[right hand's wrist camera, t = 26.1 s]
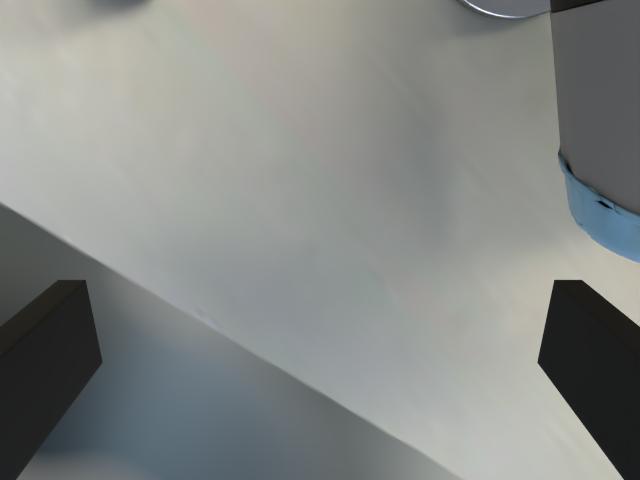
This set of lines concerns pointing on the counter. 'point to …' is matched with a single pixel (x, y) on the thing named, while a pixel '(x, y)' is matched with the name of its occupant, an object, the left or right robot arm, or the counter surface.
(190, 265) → the counter surface
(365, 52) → the counter surface
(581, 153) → the right robot arm
